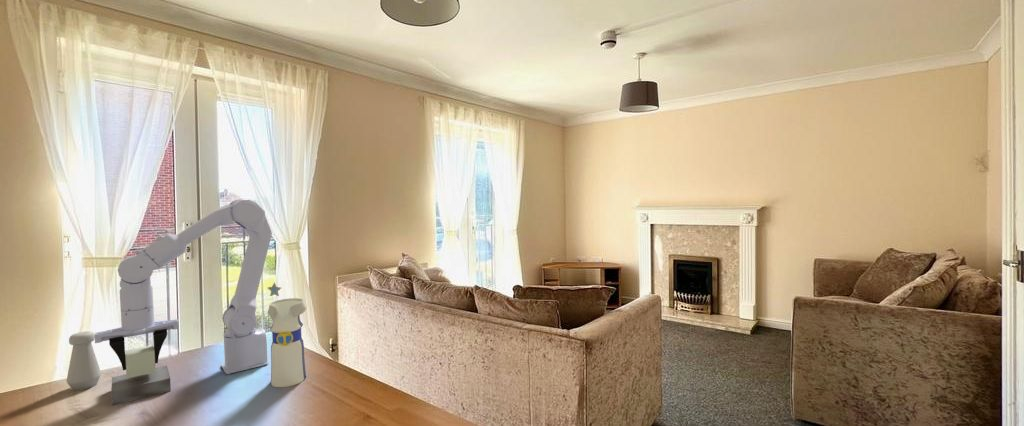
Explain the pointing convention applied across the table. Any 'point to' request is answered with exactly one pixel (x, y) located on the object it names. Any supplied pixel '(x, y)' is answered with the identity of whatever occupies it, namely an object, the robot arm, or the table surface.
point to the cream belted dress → (286, 341)
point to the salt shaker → (83, 362)
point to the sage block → (140, 361)
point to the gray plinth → (140, 385)
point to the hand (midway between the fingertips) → (140, 365)
